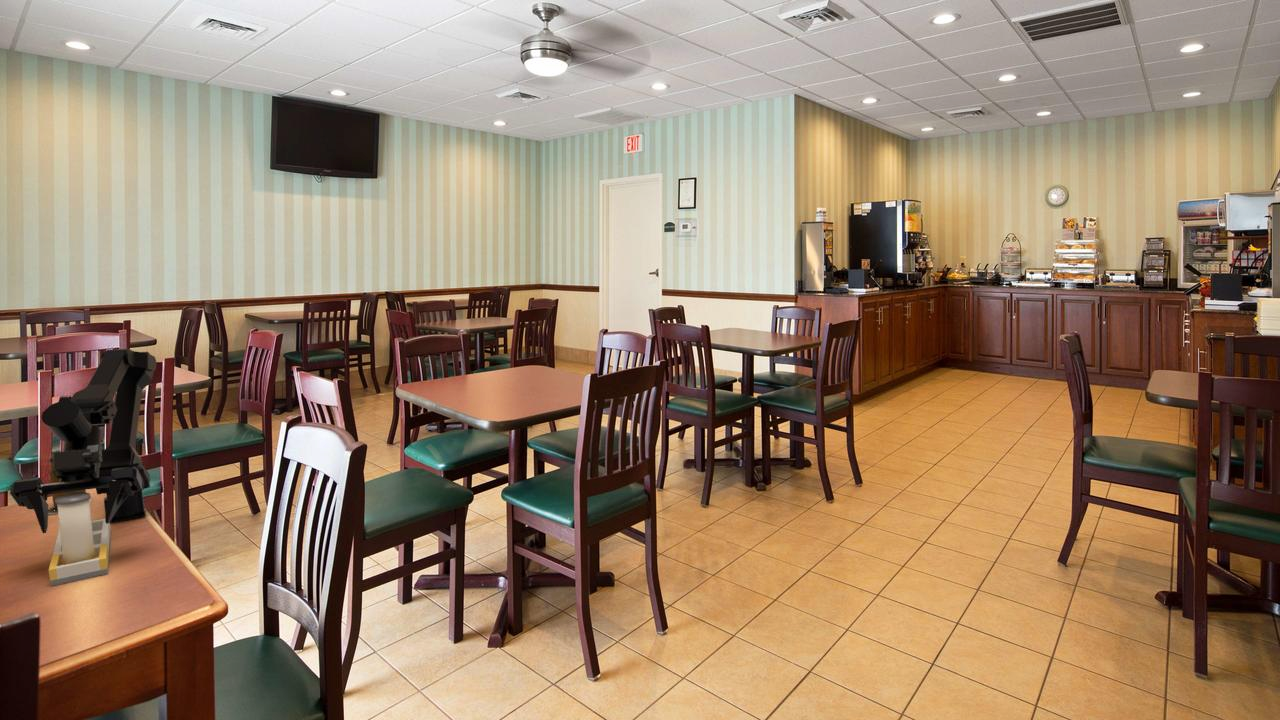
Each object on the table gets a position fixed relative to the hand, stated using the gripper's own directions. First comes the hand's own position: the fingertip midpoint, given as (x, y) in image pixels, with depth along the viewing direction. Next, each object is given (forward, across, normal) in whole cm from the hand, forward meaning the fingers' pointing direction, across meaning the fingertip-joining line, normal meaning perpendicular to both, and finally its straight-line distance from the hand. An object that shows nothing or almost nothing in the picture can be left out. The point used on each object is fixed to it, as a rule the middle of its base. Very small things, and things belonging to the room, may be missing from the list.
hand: (76, 527), depth 128 cm
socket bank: (+1, -1, +11) cm, 11 cm away
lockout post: (+5, 0, +5) cm, 7 cm away
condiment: (-23, -10, +36) cm, 44 cm away
